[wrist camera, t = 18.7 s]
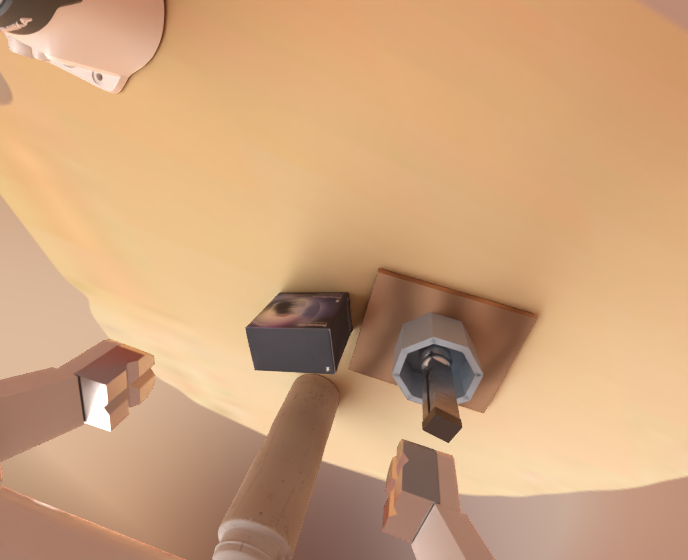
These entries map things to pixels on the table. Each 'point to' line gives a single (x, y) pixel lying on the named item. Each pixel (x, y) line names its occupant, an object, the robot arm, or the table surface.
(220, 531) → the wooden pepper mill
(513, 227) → the table surface
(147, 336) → the table surface
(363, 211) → the table surface
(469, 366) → the utensil crock
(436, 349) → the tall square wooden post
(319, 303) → the small box
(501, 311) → the serving board
